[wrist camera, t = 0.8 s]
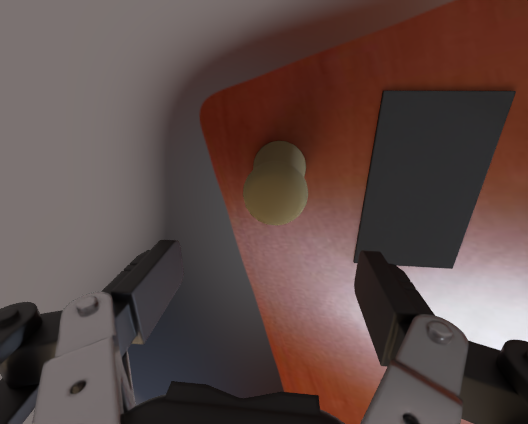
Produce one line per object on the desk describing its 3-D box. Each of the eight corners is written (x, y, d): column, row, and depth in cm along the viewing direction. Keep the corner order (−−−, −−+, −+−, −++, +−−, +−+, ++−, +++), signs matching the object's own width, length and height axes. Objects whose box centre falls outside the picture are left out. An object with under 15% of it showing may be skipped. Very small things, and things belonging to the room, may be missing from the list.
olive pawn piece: (245, 152, 28) (220, 177, 18) (295, 132, 27) (300, 147, 17) (264, 199, 30) (252, 245, 20) (312, 183, 29) (325, 223, 19)
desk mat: (382, 90, 25) (384, 90, 25) (512, 91, 24) (516, 91, 24) (353, 261, 33) (354, 263, 32) (450, 266, 32) (452, 268, 31)
